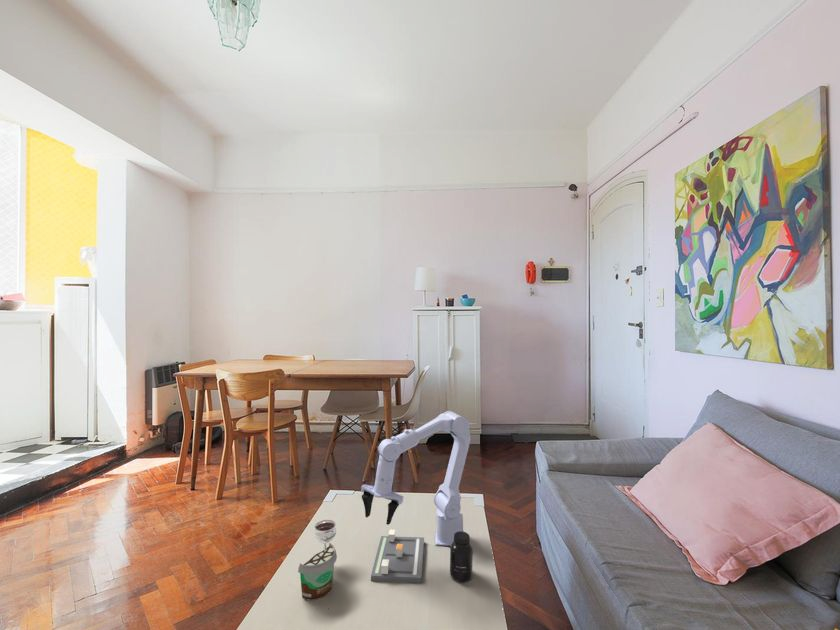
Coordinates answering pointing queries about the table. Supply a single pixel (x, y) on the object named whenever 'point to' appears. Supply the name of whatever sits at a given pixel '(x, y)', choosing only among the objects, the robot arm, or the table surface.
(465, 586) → the table surface
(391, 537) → the block
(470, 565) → the supplement bottle
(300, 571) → the food container
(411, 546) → the panel
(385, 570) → the block
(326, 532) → the wineglass
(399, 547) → the block
